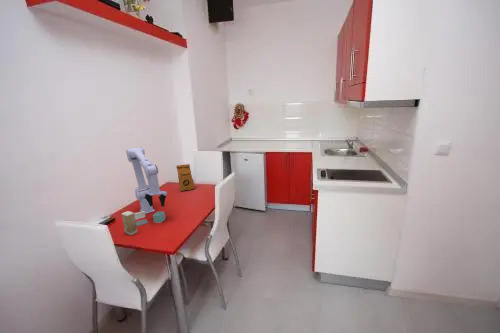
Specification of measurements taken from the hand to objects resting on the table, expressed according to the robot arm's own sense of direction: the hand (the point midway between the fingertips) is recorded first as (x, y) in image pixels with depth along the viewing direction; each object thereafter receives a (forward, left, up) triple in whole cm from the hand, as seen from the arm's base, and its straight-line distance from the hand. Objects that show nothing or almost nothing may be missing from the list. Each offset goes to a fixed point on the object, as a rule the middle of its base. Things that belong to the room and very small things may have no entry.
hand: (157, 206), depth 149 cm
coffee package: (-45, +34, -10) cm, 57 cm away
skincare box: (+5, -17, -10) cm, 20 cm away
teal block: (0, 0, -10) cm, 10 cm away
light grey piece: (-6, -12, -10) cm, 17 cm away
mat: (-5, -10, -10) cm, 15 cm away
